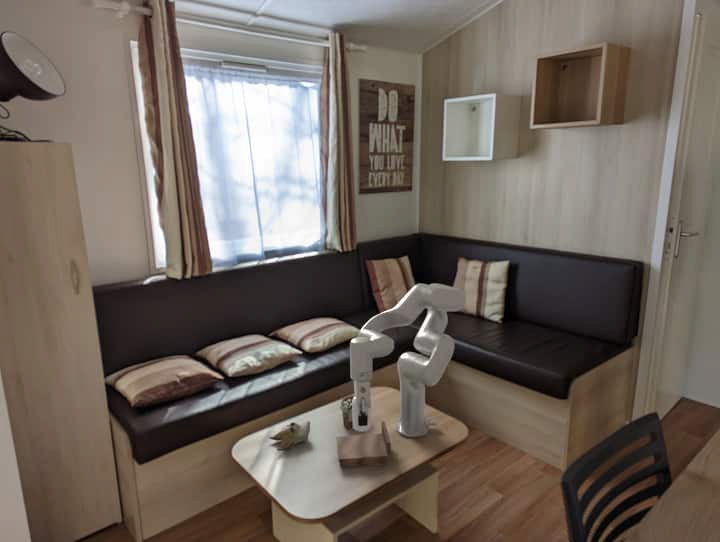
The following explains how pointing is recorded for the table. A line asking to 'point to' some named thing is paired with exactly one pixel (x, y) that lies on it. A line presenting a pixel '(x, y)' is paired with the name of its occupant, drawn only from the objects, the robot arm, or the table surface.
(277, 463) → the table surface
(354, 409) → the can
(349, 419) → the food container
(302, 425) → the ceramic sculpture
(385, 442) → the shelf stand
